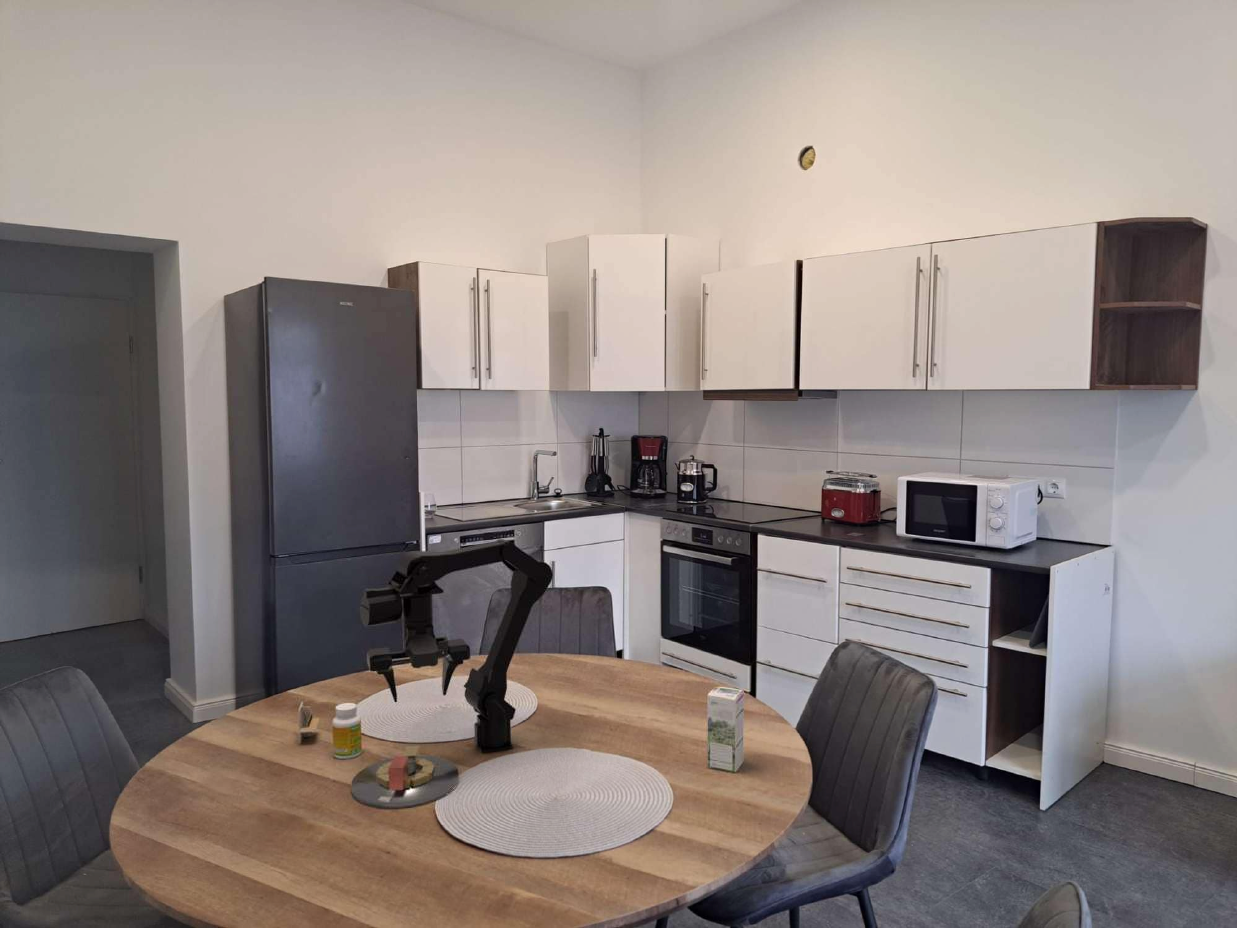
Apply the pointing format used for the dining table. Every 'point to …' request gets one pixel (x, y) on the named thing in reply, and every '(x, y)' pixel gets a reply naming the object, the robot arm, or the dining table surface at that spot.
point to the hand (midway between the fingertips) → (420, 698)
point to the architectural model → (306, 722)
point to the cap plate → (427, 792)
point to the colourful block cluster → (405, 771)
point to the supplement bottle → (346, 732)
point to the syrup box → (725, 728)
